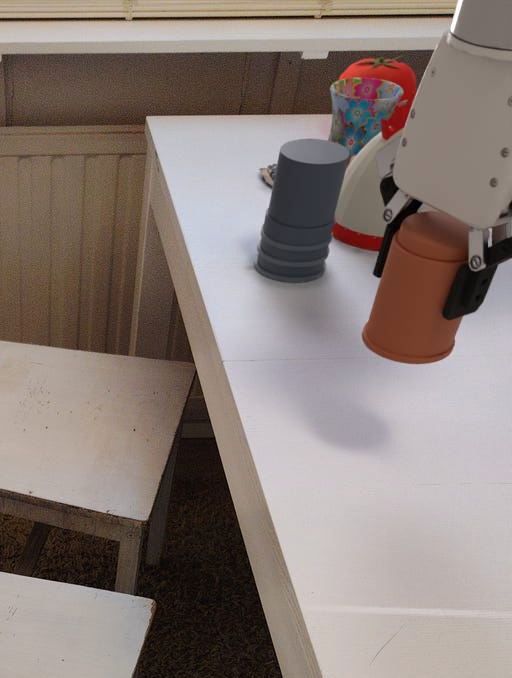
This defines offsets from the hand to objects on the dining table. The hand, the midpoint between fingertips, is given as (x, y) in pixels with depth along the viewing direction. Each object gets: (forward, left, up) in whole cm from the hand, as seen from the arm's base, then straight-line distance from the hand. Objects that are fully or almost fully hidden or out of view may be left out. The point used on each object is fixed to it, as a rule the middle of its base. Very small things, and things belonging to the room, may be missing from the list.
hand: (423, 291), depth 64 cm
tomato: (-15, -79, -15) cm, 81 cm away
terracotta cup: (0, 0, -4) cm, 4 cm away
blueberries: (-1, -62, -15) cm, 64 cm away
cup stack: (+2, -36, -15) cm, 39 cm away
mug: (-11, -64, -15) cm, 66 cm away
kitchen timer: (-11, -47, -15) cm, 50 cm away
